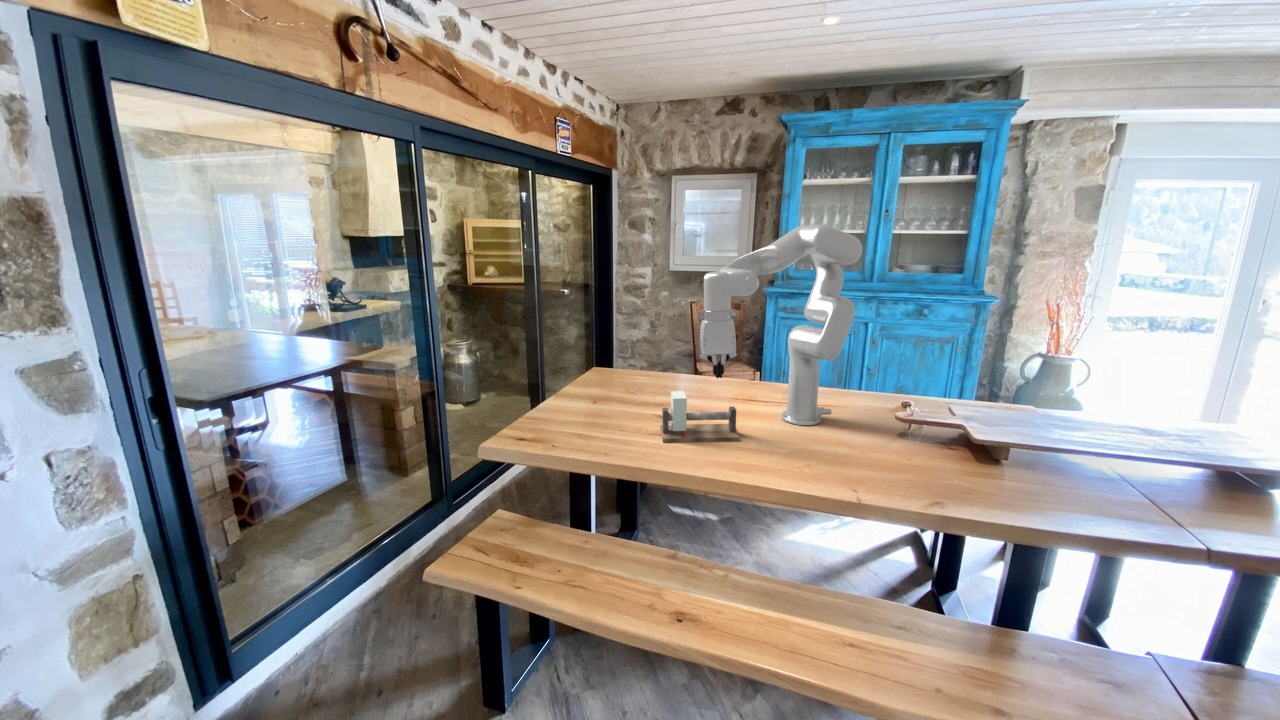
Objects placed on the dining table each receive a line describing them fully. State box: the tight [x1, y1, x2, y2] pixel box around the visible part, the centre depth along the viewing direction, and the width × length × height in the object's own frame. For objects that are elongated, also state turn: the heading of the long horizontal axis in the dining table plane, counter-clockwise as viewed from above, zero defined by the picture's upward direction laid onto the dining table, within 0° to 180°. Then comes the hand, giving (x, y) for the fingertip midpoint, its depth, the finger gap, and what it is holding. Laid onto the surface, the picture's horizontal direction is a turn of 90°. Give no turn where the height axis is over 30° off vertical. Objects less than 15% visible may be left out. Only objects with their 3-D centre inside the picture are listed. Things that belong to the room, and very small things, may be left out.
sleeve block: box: [670, 390, 688, 431], centre depth 152 cm, size 4×7×10 cm, turn 2°
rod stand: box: [659, 406, 741, 443], centre depth 154 cm, size 23×11×8 cm, turn 92°
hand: (718, 376), depth 148 cm, fingers closed
